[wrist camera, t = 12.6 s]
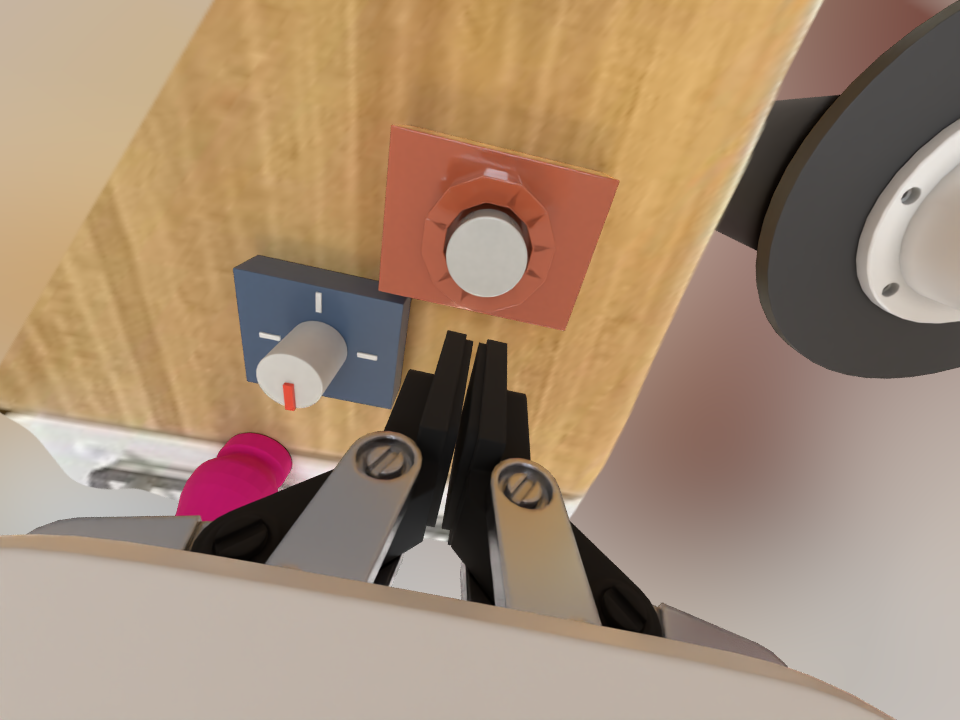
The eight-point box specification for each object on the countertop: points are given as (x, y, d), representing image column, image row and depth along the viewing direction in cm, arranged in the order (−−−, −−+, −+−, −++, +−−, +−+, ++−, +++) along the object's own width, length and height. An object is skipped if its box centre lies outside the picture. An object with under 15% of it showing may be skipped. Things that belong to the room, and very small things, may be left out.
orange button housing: (603, 172, 24) (631, 185, 18) (557, 306, 28) (569, 346, 23) (407, 124, 23) (379, 124, 18) (393, 270, 27) (368, 303, 22)
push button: (534, 218, 20) (537, 227, 18) (514, 290, 22) (515, 305, 20) (457, 200, 20) (453, 207, 18) (444, 275, 22) (439, 288, 20)
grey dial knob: (288, 315, 26) (248, 350, 22) (347, 326, 26) (319, 363, 22) (292, 364, 28) (257, 405, 24) (347, 374, 28) (321, 416, 24)
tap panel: (412, 288, 28) (403, 305, 25) (399, 387, 33) (390, 411, 30) (257, 254, 27) (230, 268, 25) (267, 360, 32) (245, 382, 29)
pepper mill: (220, 469, 39) (0, 738, 22) (223, 418, 35) (-37, 692, 18) (292, 490, 40) (137, 762, 23) (302, 442, 36) (127, 722, 19)
